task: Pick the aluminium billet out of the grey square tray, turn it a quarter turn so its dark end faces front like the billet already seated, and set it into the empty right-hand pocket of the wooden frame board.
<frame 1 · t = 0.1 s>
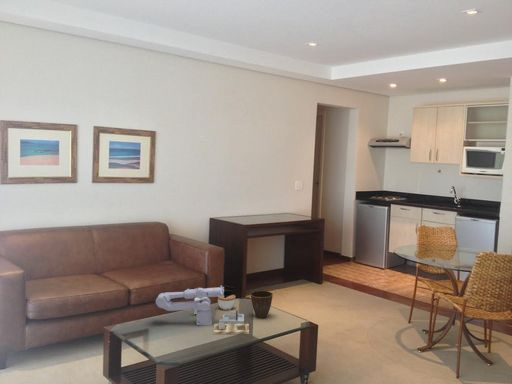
hand: (235, 290, 313), 22 cm above the table, tool horizontal, fingers open, 7 cm apart
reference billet: (221, 330, 302), resting in wooden frame board
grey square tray: (233, 321, 319), on the table
loose billet: (233, 320, 318), point 1 cm above the table, touching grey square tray
wooden frame board: (231, 329, 303), on the table
plant pot: (261, 317, 327), on the table
lidded bowl: (226, 309, 343), on the table
photo printer: (201, 314, 331), on the table
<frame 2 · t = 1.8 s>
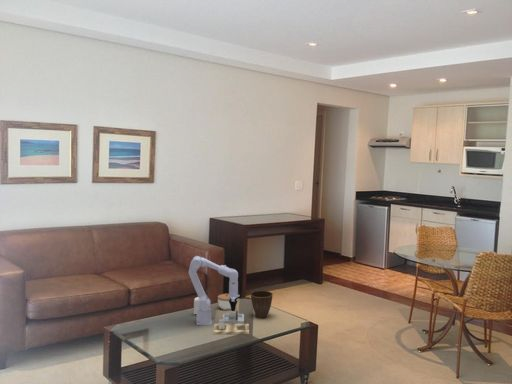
hand: (233, 309, 314), 9 cm above the table, tool pointing down, fingers open, 7 cm apart
nothing on the table moved.
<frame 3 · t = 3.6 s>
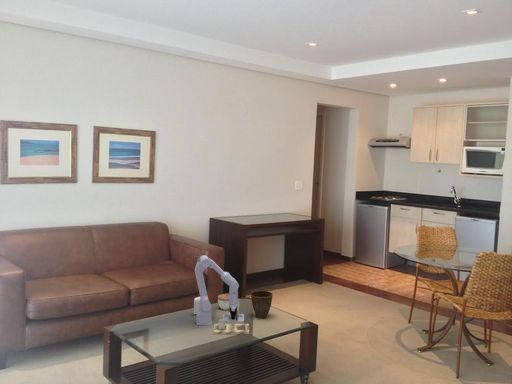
hand: (233, 318, 318), 2 cm above the table, tool pointing down, fingers closed on loose billet, 4 cm apart
loose billet: (233, 320, 318), point 1 cm above the table, touching gripper, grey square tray
everything else where it was.
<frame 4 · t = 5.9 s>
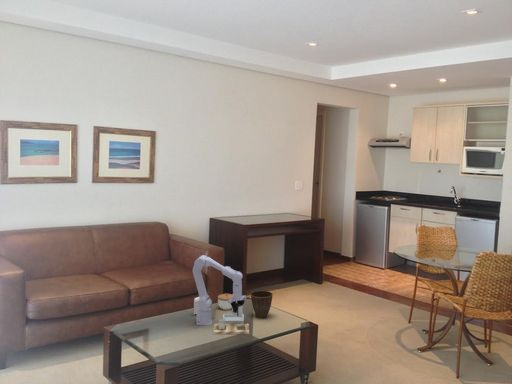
hand: (237, 311, 310), 9 cm above the table, tool pointing down, fingers closed on loose billet, 4 cm apart
loose billet: (237, 314, 310), point 7 cm above the table, touching gripper
everything else where it was.
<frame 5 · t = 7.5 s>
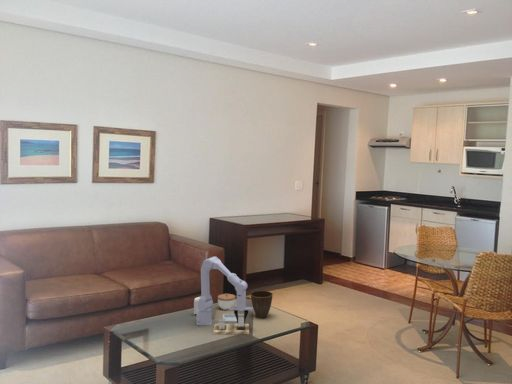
hand: (241, 322, 302), 5 cm above the table, tool pointing down, fingers closed on loose billet, 4 cm apart
loose billet: (241, 324, 302), point 3 cm above the table, touching gripper
everything else where it was.
when the fingers open (2 cm above the table, at t = 8.5 s): loose billet stays where it is, resting in wooden frame board.
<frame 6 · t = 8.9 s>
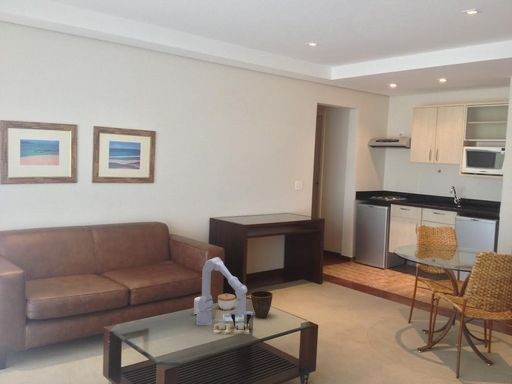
hand: (240, 326, 303), 2 cm above the table, tool pointing down, fingers open, 7 cm apart
loose billet: (240, 330, 303), resting in wooden frame board
everything else where it was.
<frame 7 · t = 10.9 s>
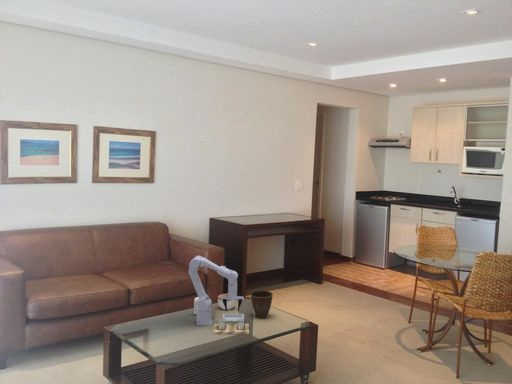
hand: (232, 311, 310), 9 cm above the table, tool pointing down, fingers open, 7 cm apart
nothing on the table moved.
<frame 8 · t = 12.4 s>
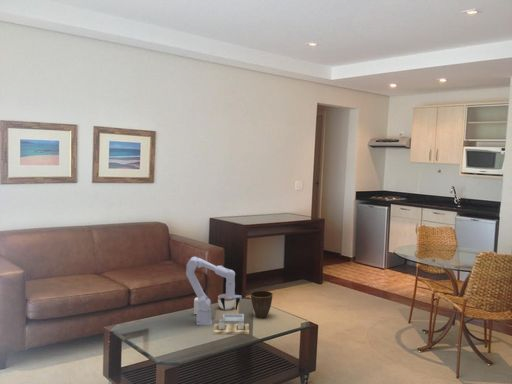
hand: (230, 309, 313), 9 cm above the table, tool pointing down, fingers open, 7 cm apart
nothing on the table moved.
at the end: loose billet 0.0 cm from the target spot on the wooden frame board, point 0.0 cm above the wooden frame board's base; loose billet tilted 0°; the gripper is holding nothing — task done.
